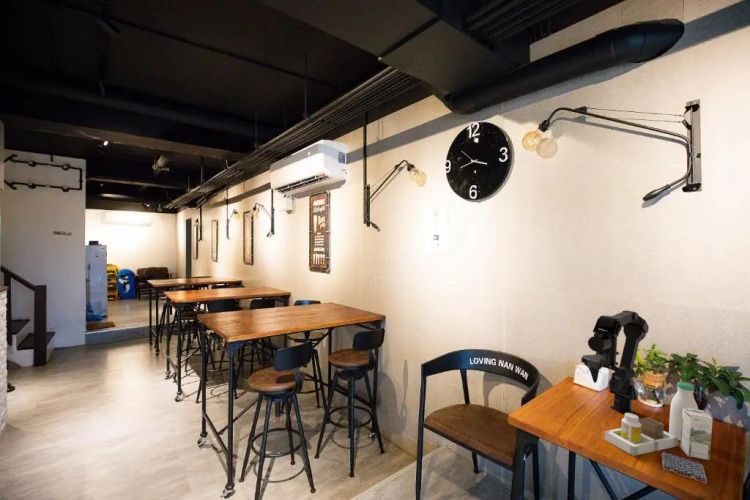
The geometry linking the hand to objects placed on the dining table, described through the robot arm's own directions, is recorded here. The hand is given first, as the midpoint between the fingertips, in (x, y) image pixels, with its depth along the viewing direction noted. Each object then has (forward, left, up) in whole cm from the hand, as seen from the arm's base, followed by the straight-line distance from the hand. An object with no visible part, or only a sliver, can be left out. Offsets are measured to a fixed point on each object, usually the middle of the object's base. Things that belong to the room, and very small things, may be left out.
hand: (605, 387), depth 139 cm
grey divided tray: (+3, +16, -13) cm, 21 cm away
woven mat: (+5, +30, -14) cm, 33 cm away
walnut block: (-2, +16, -13) cm, 21 cm away
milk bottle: (-16, +18, -13) cm, 28 cm away
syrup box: (-8, +26, -13) cm, 30 cm away
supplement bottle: (+8, +16, -13) cm, 22 cm away
